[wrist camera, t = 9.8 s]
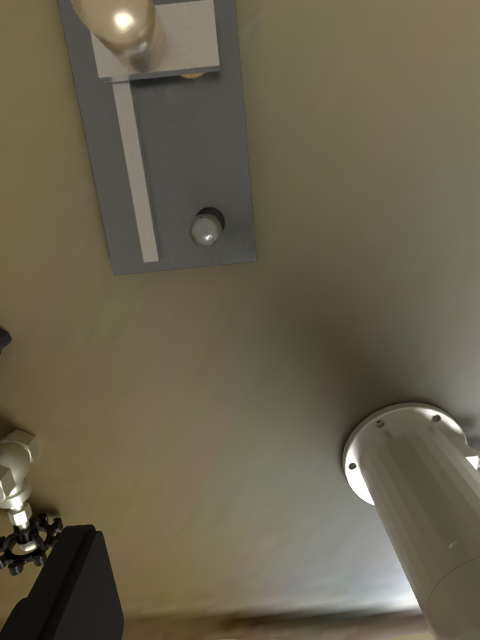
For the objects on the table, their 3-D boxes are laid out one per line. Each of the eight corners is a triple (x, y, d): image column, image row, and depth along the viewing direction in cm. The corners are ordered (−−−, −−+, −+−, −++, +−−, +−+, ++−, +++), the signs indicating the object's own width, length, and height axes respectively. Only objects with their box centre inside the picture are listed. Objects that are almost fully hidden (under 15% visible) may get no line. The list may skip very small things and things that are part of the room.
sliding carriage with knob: (214, 13, 27) (206, -68, 18) (220, 73, 28) (215, 25, 19) (97, 25, 27) (34, -49, 18) (108, 85, 28) (53, 42, 20)
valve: (-16, 429, 40) (15, 522, 44) (-63, 475, 33) (-21, 578, 37) (49, 424, 40) (75, 517, 44) (15, 469, 33) (49, 573, 37)
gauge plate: (227, -78, 27) (226, -190, 19) (255, 257, 34) (263, 281, 26) (52, -59, 27) (-24, -162, 19) (118, 271, 35) (84, 298, 26)
